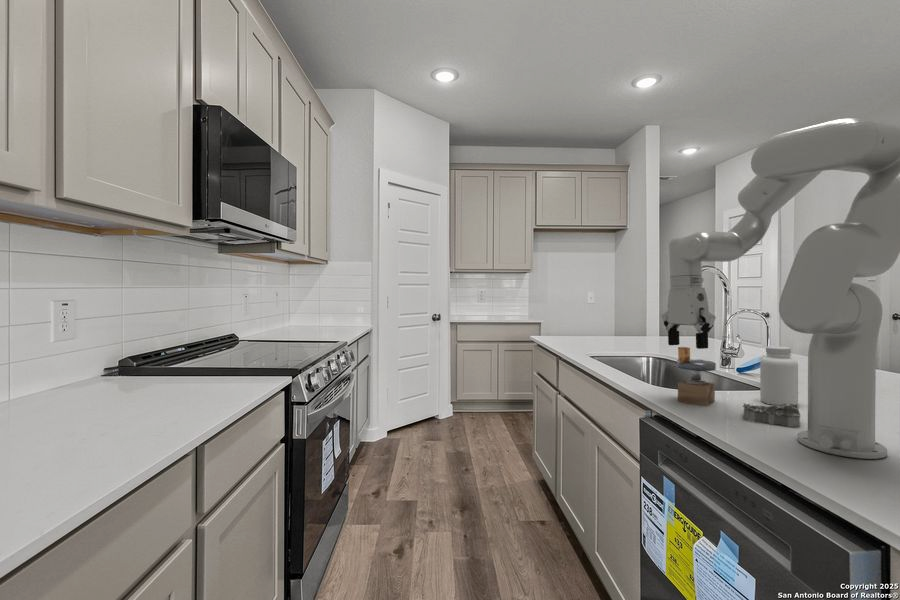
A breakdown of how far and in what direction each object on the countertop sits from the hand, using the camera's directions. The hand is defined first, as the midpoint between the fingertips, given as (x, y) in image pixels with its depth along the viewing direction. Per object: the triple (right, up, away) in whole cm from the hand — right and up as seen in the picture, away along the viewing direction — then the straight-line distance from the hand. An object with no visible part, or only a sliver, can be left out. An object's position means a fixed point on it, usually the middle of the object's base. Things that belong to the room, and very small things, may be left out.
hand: (687, 346), depth 113 cm
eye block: (+3, -15, +2) cm, 16 cm away
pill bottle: (+24, -15, -1) cm, 28 cm away
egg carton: (+11, -16, -15) cm, 24 cm away
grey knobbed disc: (+3, -9, +2) cm, 10 cm away
